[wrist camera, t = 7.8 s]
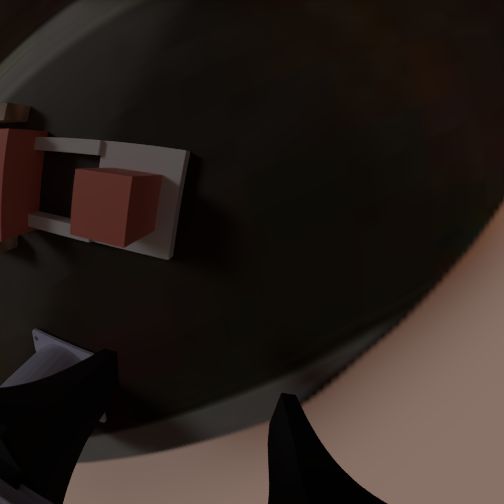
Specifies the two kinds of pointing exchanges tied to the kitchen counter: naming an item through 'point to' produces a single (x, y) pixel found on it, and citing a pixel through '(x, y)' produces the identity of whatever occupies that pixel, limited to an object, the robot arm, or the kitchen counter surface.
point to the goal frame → (12, 115)
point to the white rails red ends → (95, 192)
